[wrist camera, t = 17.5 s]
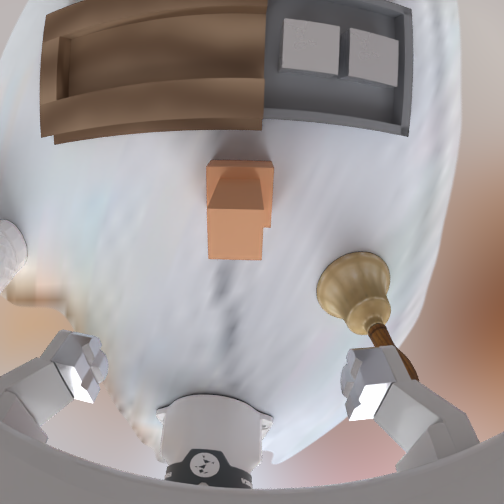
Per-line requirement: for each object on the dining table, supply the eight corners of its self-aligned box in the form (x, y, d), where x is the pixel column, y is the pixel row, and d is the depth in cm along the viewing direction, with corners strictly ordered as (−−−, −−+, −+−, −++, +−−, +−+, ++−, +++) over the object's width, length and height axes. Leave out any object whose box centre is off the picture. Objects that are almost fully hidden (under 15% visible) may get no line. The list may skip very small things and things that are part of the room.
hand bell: (329, 245, 27) (393, 378, 13) (400, 257, 28) (481, 368, 14) (306, 313, 31) (336, 446, 17) (372, 319, 32) (422, 433, 18)
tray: (395, 133, 22) (408, 136, 20) (261, 117, 22) (262, 118, 20) (399, 15, 17) (411, 9, 15) (266, -10, 17) (267, -21, 14)
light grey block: (327, 78, 20) (338, 74, 17) (277, 72, 20) (281, 67, 17) (329, 35, 18) (339, 26, 15) (280, 28, 18) (284, 18, 15)
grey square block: (381, 88, 20) (397, 86, 17) (336, 79, 20) (348, 75, 17) (382, 46, 18) (398, 40, 15) (338, 36, 18) (350, 27, 15)
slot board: (261, 129, 23) (262, 132, 20) (61, 142, 22) (42, 148, 19) (266, -19, 16) (268, -34, 13) (65, 12, 16) (47, 6, 13)
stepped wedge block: (268, 214, 26) (277, 274, 17) (211, 213, 26) (192, 272, 17) (271, 161, 24) (284, 194, 15) (211, 159, 24) (187, 192, 15)
